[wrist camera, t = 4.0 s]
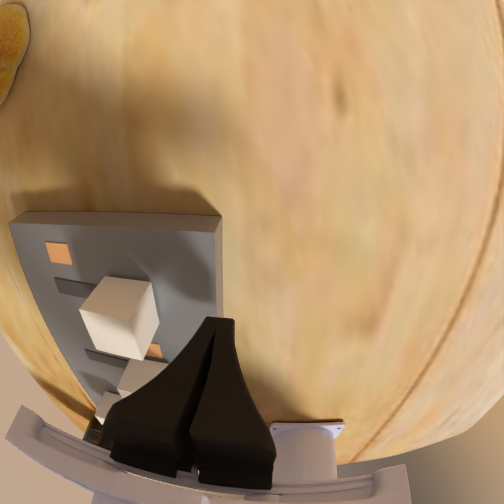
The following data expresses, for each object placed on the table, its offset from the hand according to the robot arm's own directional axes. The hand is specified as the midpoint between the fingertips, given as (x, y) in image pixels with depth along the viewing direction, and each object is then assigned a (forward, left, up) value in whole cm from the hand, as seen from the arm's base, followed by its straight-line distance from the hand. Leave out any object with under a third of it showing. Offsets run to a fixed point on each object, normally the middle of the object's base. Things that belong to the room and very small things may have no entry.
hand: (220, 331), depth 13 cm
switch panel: (-7, +8, -4) cm, 11 cm away
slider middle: (-7, +5, -2) cm, 9 cm away
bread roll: (+17, +18, -4) cm, 25 cm away
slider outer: (0, +5, -2) cm, 6 cm away
